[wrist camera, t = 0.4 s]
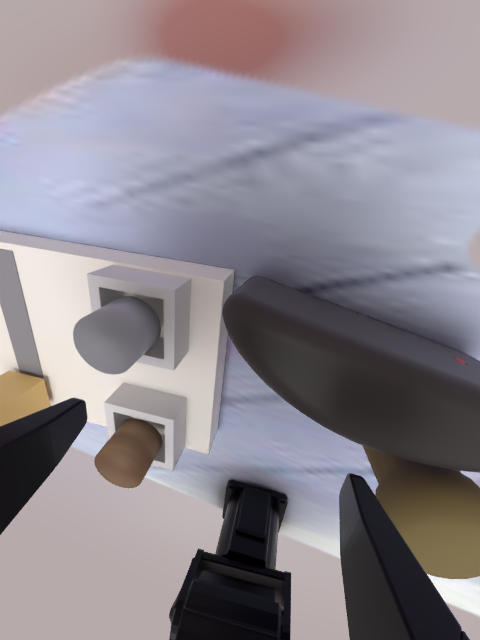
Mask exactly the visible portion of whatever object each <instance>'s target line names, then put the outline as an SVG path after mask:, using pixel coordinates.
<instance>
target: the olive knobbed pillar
mask: <svg viewBox="0 0 480 640" xmlns="http://www.w3.org/2000/svg"><path fill="white" fill-rule="evenodd" d="M363 448H364V450H365V452H366V455H367V457H368V460H369V462H370V464H371V467H372V469H373V471H374V474H375V476H376V479H377V481H378V483H379V485H378V487H377V489H376V498H377V499H378V501H379V502H380V504H381V505H382V507H383V508H384V510H385V511H386V513H387V515H388V516H389V518H390V519H391V521H392V522H393V524H394V525H395V527H396V528H397V530H398V531H399V533H400V534H401V536H402V537H403V539H404V540H405V542H406V544H407V545H408V547H409V548H410V550H411V551H412V553H413V554H414V556H415V557H416V559H417V560H418V562H419V563H420V565H421V566H422V568H423V569H424V571H425V572H426V573H427V574H430V575H433V576H436V577H442V578H448V579H468V578H473V577H478V576H480V487H479V486H478V485H477V484H476V483H475V482H474V481H473V480H472V479H471V478H469V477H467V476H465V475H464V474H462V473H461V471H459V470H452V469H446V468H440V467H434V466H429V465H425V464H421V463H416V462H412V461H408V460H405V459H401V458H398V457H394V456H391V455H388V454H385V453H382V452H379V451H376V450H373V449H371V448H368V447H366V446H363Z"/></svg>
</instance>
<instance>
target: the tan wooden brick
mask: <svg viewBox="0 0 480 640" xmlns="http://www.w3.org/2000/svg"><path fill="white" fill-rule="evenodd" d="M49 406H50V401H49V397H48V393H47V389H46V385H45V381H44V379H42V378H38V377H34V376H30V375H26V374H22V373H18V372H14V371H10V370H9V371H7V372H5V373H4V374H2V375H0V426H2V425H5V424H7V423H10V422H12V421H15V420H17V419H20V418H22V417H25V416H27V415H30V414H32V413H35V412H37V411H40V410H43V409H45V408H48V407H49Z"/></svg>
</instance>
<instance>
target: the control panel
mask: <svg viewBox="0 0 480 640" xmlns="http://www.w3.org/2000/svg"><path fill="white" fill-rule="evenodd" d="M234 272H235V270H233V269H227V268H221V267H215V266H209V265H203V264H197V263H191V262H185V261H179V260H173V259H167V258H161V257H155V256H149V255H143V254H137V253H131V252H125V251H119V250H113V249H107V248H101V247H95V246H90V245H84V244H78V243H72V242H66V241H60V240H54V239H48V238H42V237H36V236H30V235H24V234H18V233H12V232H6V231H0V375H2V374H4V373H5V372H7V371H9V370H10V371H14V372H18V373H22V374H26V375H30V376H34V377H38V378H42V379H44V381H45V385H46V389H47V393H48V397H49V401H50V406H53V405H55V404H58V403H60V402H63V401H65V400H68V399H70V398H78V399H82V400H84V401H85V402H86V409H87V417H88V418H87V422H91V423H95V424H98V425H102V426H106V427H107V430H108V437H109V439H110V438H111V437H112V435H113V434H114V433H115V432H116V430H117V429H118V428H119V427H120V425H121V424H122V423H123V422H124V421H125V420H127V419H132V418H135V419H141V420H144V421H146V422H148V423H150V424H151V425H152V426H154V427H155V428H156V429H157V430H158V432H159V433H160V435H161V437H162V446H161V448H160V450H159V452H158V454H157V455H156V457H155V459H154V461H153V462H152V464H151V465H153V466H156V467H160V468H163V469H167V470H170V471H174V468H175V466H176V464H177V462H178V460H179V458H180V456H181V454H182V452H183V449H184V448H187V449H191V450H195V451H199V452H202V453H206V454H209V451H210V449H211V446H212V443H213V440H214V438H215V435H216V432H217V430H218V423H219V413H220V404H221V394H222V385H223V375H224V366H225V357H226V347H227V338H228V332H227V329H226V326H225V323H224V320H223V315H222V310H223V305H224V303H225V301H226V299H227V298H228V297H229V296H230V295H231V294H232V291H233V281H234ZM124 296H132V297H136V298H139V299H141V300H143V301H144V302H146V303H147V304H148V305H150V306H151V307H152V309H153V310H154V311H155V313H156V314H157V316H158V318H159V321H160V325H161V333H160V336H159V339H158V340H157V342H156V343H155V344H154V345H153V346H152V347H151V348H150V349H149V350H148V351H147V352H146V353H145V354H144V355H143V356H142V357H141V358H140V359H139V360H138V361H136V362H135V363H134V364H133V365H132V366H131V367H130V368H129V369H128V370H127V371H126V372H124V373H121V374H116V375H112V374H106V373H103V372H100V371H98V370H96V369H94V368H93V367H91V366H90V365H89V364H88V363H87V362H85V361H84V359H83V358H82V357H81V356H80V354H79V353H78V351H77V349H76V347H75V344H74V340H73V330H74V327H75V325H76V323H77V322H78V321H79V320H80V319H81V318H83V317H85V316H87V315H88V314H90V313H92V312H94V311H96V310H98V309H99V308H101V307H103V306H105V305H107V304H109V303H110V302H112V301H114V300H116V299H118V298H120V297H124ZM50 406H49V407H50Z"/></svg>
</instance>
